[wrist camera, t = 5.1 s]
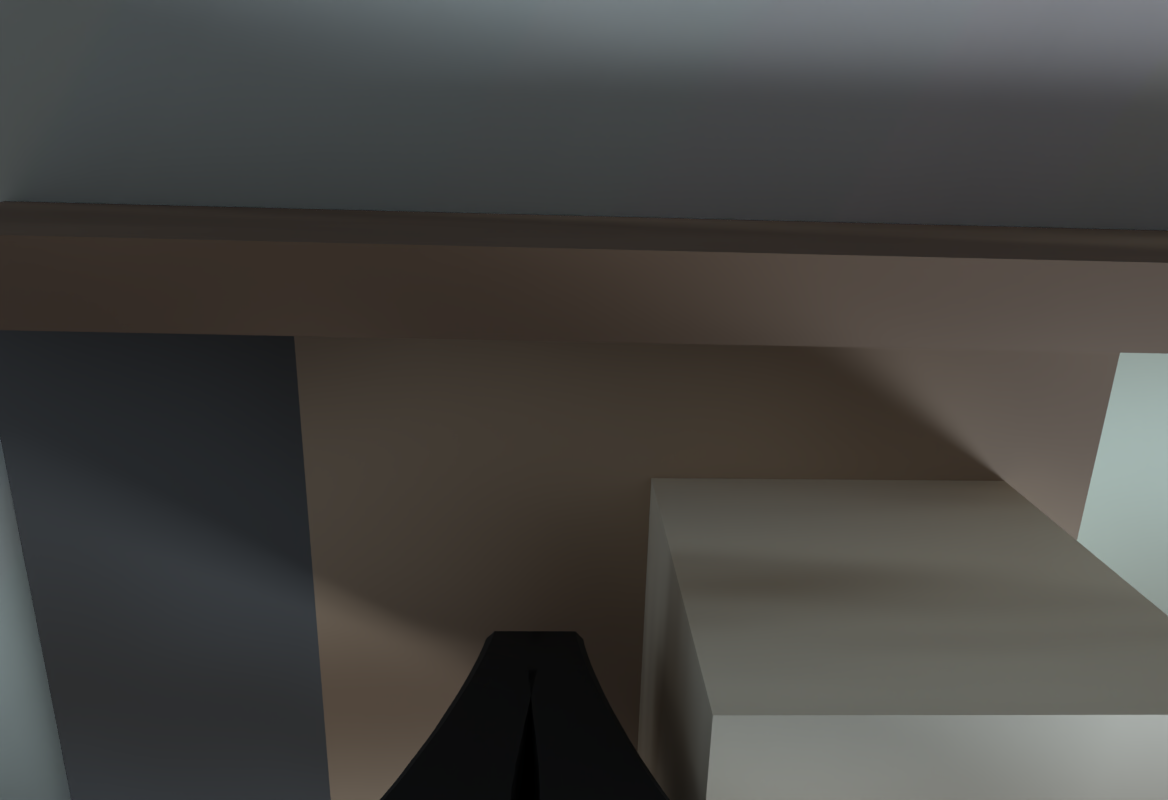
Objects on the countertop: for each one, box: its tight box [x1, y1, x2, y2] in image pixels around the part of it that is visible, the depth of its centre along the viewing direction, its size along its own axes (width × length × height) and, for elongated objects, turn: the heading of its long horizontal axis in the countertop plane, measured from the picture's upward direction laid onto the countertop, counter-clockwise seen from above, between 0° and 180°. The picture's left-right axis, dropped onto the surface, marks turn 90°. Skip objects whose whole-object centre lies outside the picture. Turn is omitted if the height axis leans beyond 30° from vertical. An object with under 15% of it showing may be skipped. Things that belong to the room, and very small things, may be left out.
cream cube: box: [637, 478, 1168, 800], centre depth 11 cm, size 5×5×5 cm
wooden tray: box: [0, 201, 1168, 800], centre depth 13 cm, size 16×23×3 cm
